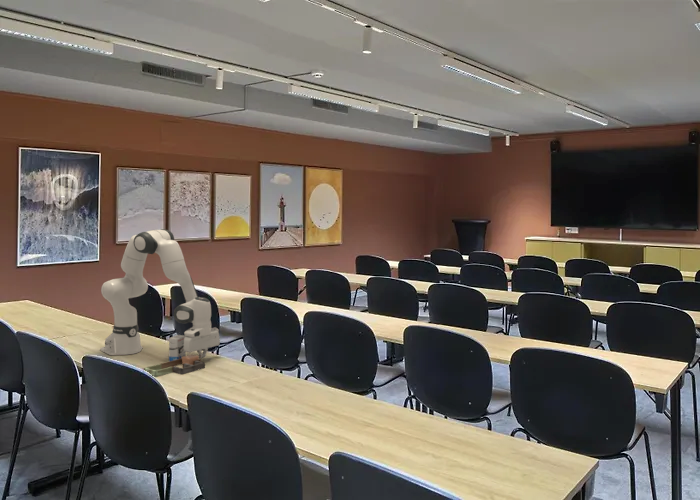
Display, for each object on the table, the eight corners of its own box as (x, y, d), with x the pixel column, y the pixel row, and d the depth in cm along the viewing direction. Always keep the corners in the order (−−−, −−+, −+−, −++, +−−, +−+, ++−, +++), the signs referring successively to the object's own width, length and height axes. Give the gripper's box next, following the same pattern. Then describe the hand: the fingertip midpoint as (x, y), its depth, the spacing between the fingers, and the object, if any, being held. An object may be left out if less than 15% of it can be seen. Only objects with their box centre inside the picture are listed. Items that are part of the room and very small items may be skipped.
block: (182, 365, 281) (182, 356, 280) (191, 362, 286) (191, 354, 285) (188, 366, 278) (188, 358, 278) (198, 364, 283) (198, 355, 283)
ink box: (178, 362, 284) (177, 338, 283) (168, 361, 285) (168, 338, 284) (186, 358, 293) (185, 335, 292) (177, 357, 294) (176, 334, 293)
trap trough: (143, 373, 266) (143, 368, 266) (189, 361, 287) (189, 356, 287) (164, 379, 257) (164, 373, 257) (209, 366, 278) (209, 361, 278)
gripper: (214, 325, 297) (214, 352, 298) (181, 332, 280) (181, 360, 281) (222, 327, 293) (222, 354, 294) (189, 334, 277) (190, 363, 278)
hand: (202, 357), depth 288 cm, fingers closed
